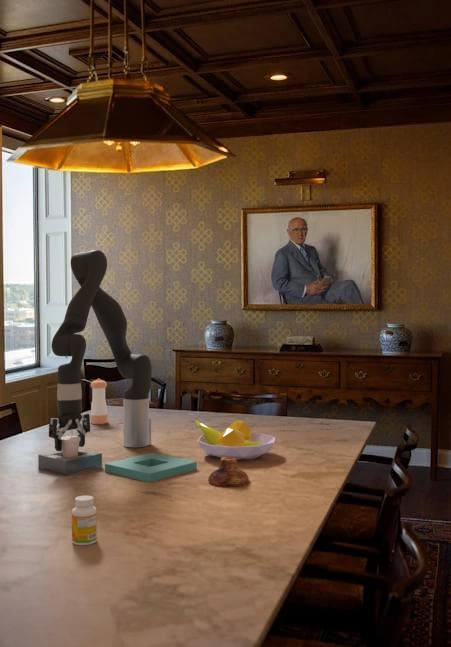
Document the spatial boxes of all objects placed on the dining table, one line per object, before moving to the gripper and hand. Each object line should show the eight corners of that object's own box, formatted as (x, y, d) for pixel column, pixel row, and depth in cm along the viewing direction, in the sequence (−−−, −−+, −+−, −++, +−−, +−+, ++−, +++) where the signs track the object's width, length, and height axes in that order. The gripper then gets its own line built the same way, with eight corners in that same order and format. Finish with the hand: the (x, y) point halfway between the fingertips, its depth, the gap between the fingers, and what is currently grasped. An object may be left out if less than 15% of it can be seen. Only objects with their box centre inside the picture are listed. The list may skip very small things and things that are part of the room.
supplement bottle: (73, 538, 158) (73, 494, 157) (98, 537, 158) (97, 494, 158) (70, 546, 152) (69, 501, 152) (95, 545, 153) (95, 500, 152)
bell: (202, 480, 209) (202, 455, 208) (239, 476, 213) (239, 452, 213) (217, 490, 198) (217, 464, 198) (256, 485, 203) (256, 460, 202)
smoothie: (75, 471, 219) (75, 426, 219) (56, 470, 221) (56, 425, 220) (83, 466, 226) (83, 422, 225) (65, 465, 227) (64, 421, 227)
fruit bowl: (291, 455, 241) (291, 422, 241) (238, 469, 221) (238, 433, 221) (230, 443, 260) (230, 413, 260) (176, 456, 240) (176, 422, 240)
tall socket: (74, 461, 233) (74, 447, 233) (102, 467, 224) (101, 453, 224) (38, 468, 222) (38, 454, 222) (65, 475, 213) (65, 461, 213)
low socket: (152, 460, 234) (152, 452, 234) (196, 469, 221) (196, 461, 221) (105, 471, 218) (104, 463, 218) (149, 482, 205) (149, 473, 205)
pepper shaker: (106, 424, 302) (105, 379, 301) (89, 424, 302) (88, 379, 301) (109, 421, 309) (108, 377, 309) (92, 421, 309) (92, 377, 309)
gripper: (80, 394, 230) (80, 443, 231) (43, 398, 220) (43, 450, 220) (95, 396, 225) (95, 446, 226) (57, 401, 215) (58, 454, 215)
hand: (70, 448), depth 223 cm, fingers open, 8 cm apart
